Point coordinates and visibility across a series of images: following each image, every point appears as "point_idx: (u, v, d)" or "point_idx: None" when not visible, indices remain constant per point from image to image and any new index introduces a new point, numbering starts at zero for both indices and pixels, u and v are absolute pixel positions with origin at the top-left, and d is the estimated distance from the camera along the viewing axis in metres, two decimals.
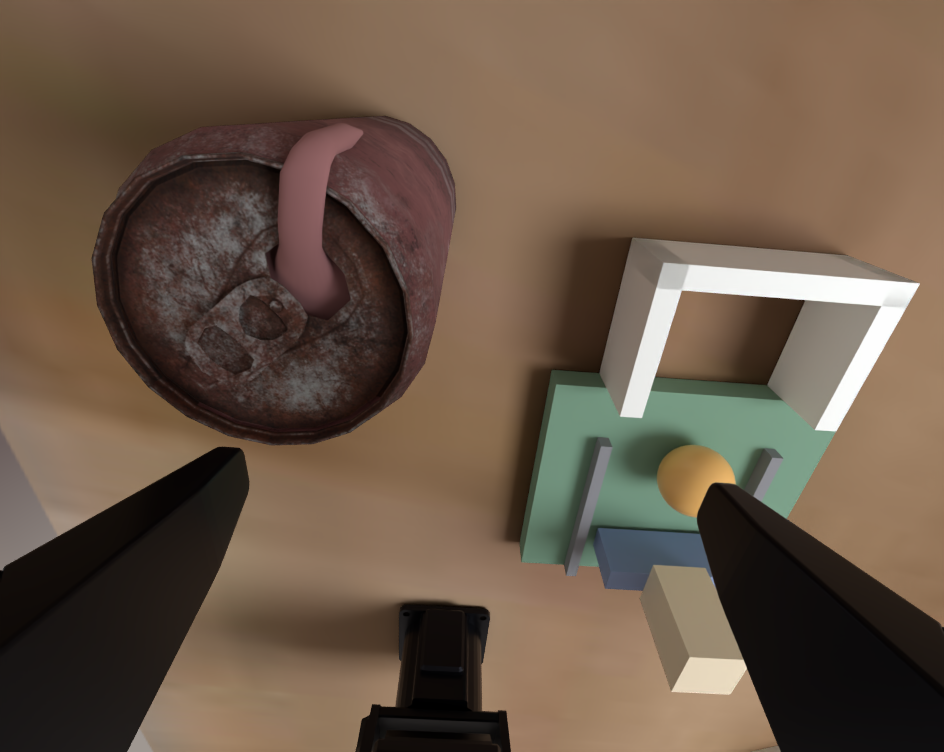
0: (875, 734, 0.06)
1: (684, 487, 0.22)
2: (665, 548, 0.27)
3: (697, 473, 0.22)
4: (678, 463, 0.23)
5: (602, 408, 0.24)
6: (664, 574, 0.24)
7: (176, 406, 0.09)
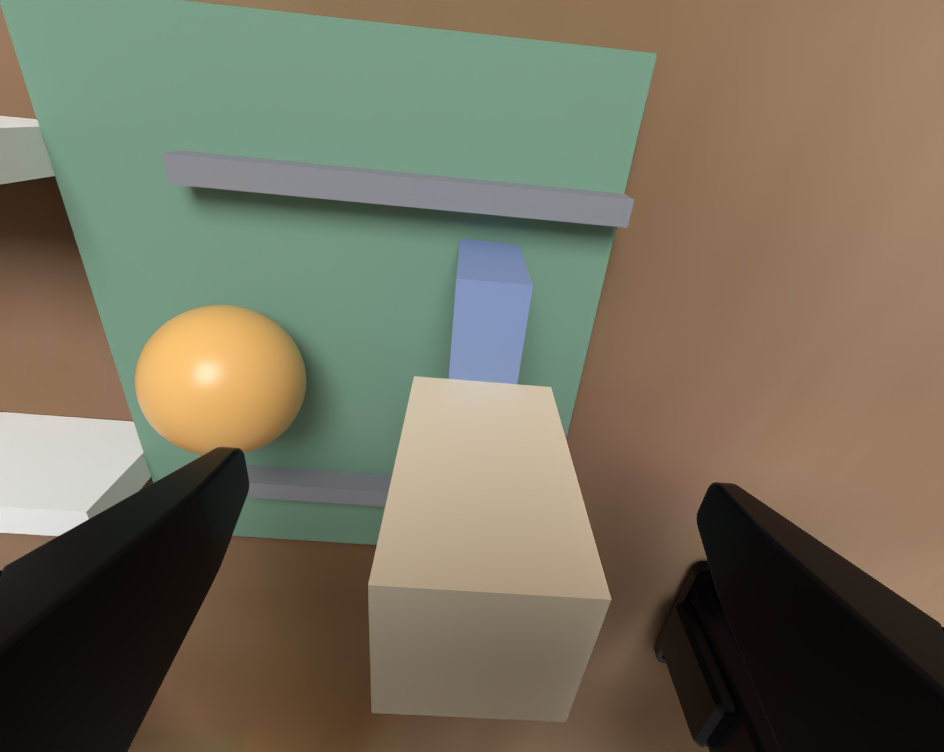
0: (874, 734, 0.06)
1: (186, 449, 0.11)
2: None
3: None
4: None
5: None
6: None
7: None
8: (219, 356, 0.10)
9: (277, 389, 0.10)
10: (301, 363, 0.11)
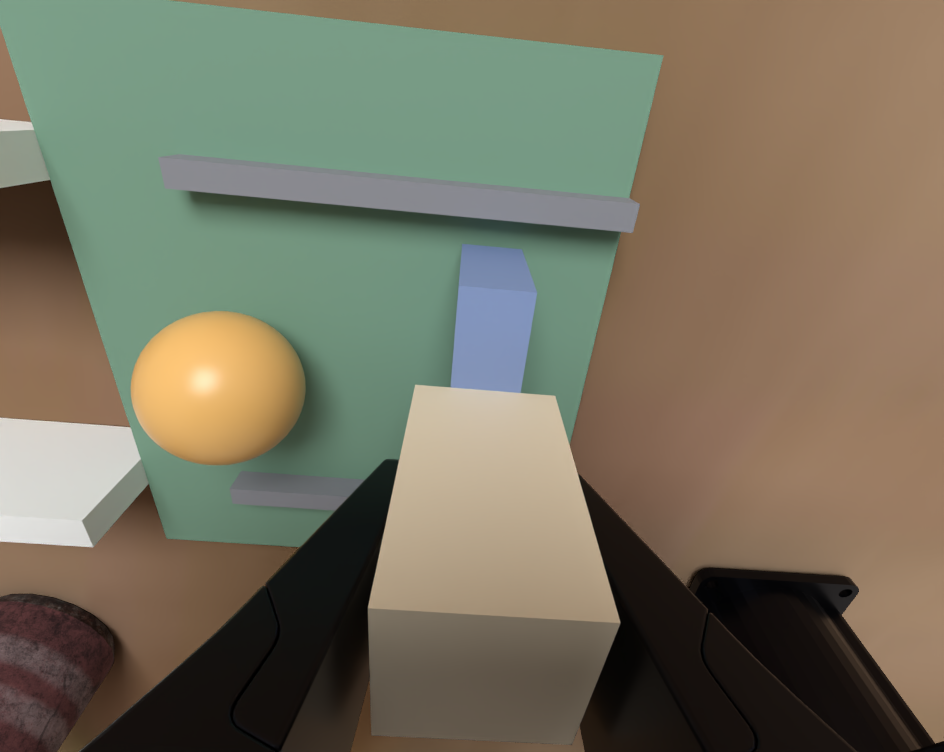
0: (630, 721, 0.06)
1: None
2: None
3: None
4: None
5: (187, 484, 0.15)
6: None
7: None
8: (216, 364, 0.10)
9: (275, 397, 0.10)
10: (300, 370, 0.11)
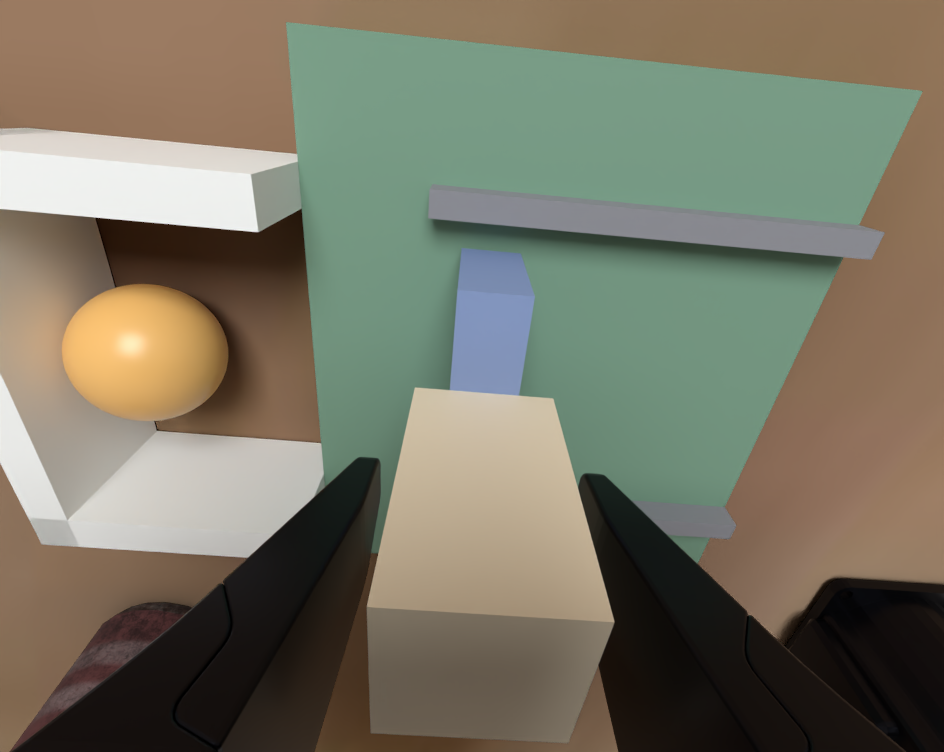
0: (672, 723, 0.06)
1: (203, 401, 0.13)
2: None
3: (184, 400, 0.12)
4: (155, 419, 0.12)
5: None
6: None
7: None
8: (195, 300, 0.13)
9: None
10: None
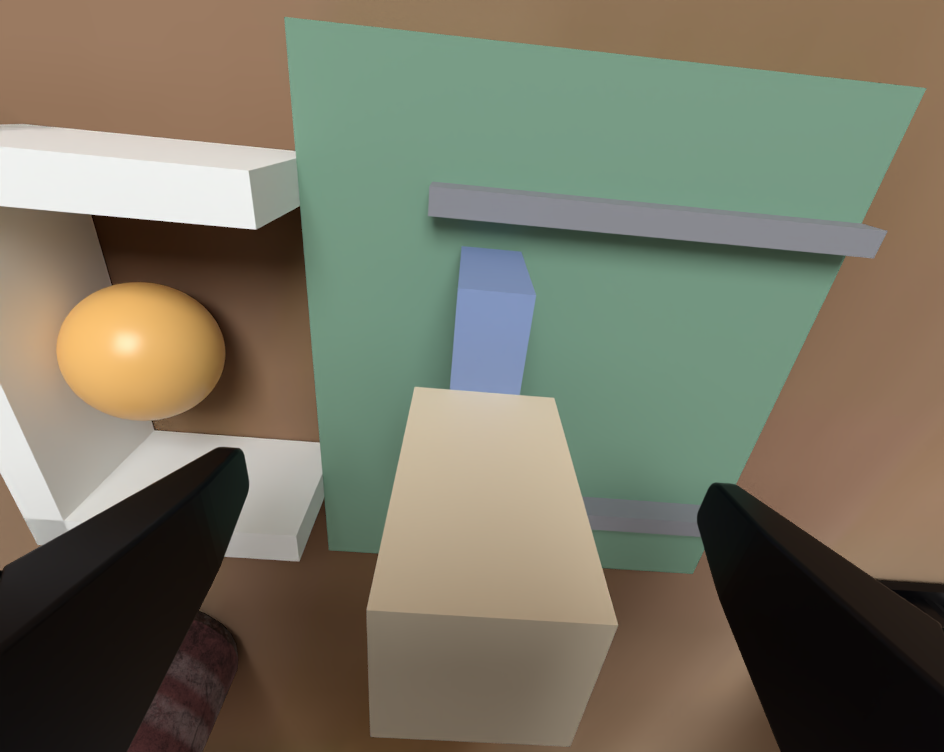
0: (875, 734, 0.06)
1: (200, 400, 0.13)
2: None
3: (179, 400, 0.12)
4: (151, 418, 0.12)
5: (362, 497, 0.15)
6: None
7: None
8: (192, 299, 0.12)
9: None
10: None
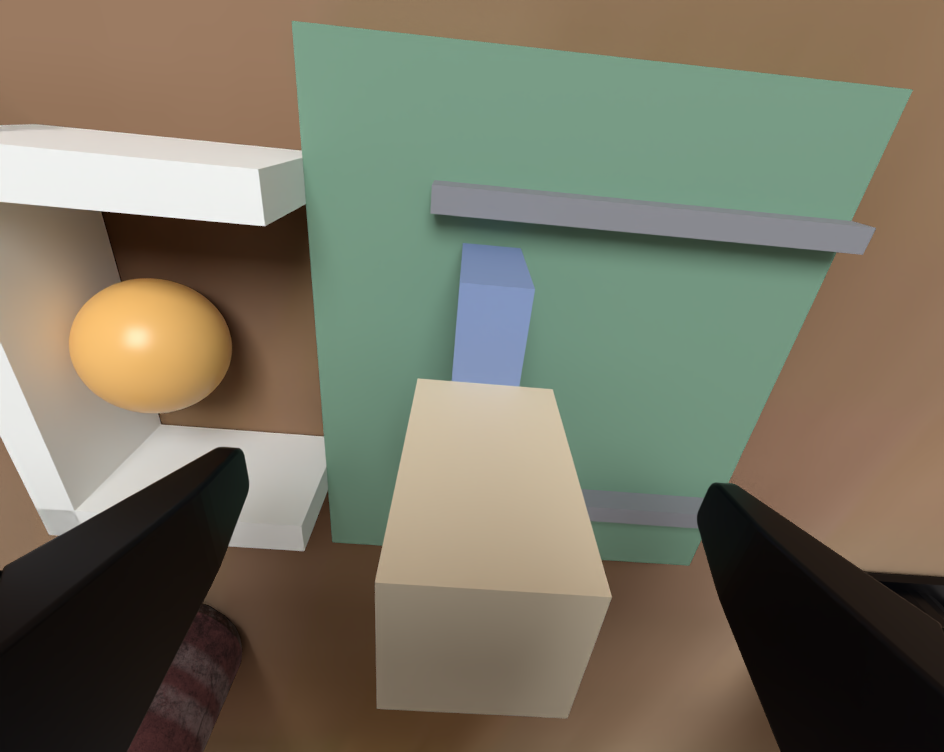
0: (874, 733, 0.06)
1: (207, 394, 0.13)
2: None
3: (188, 393, 0.12)
4: (160, 411, 0.12)
5: (365, 490, 0.16)
6: None
7: None
8: (200, 294, 0.13)
9: None
10: None
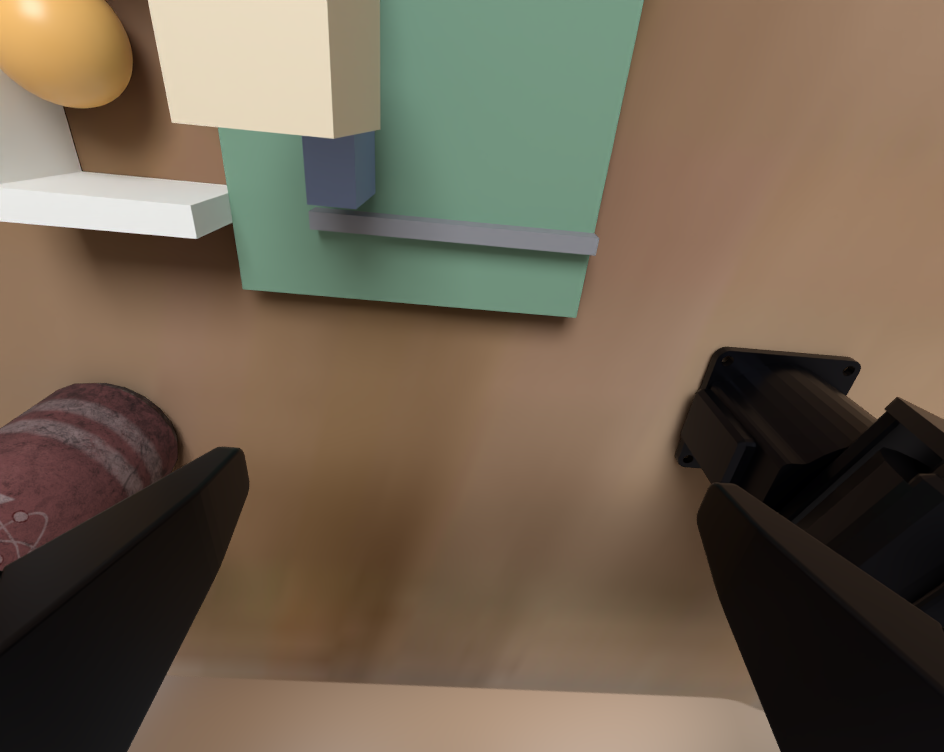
0: (875, 734, 0.06)
1: (106, 89, 0.14)
2: None
3: (82, 68, 0.13)
4: (59, 89, 0.14)
5: (267, 223, 0.17)
6: None
7: None
8: None
9: None
10: None
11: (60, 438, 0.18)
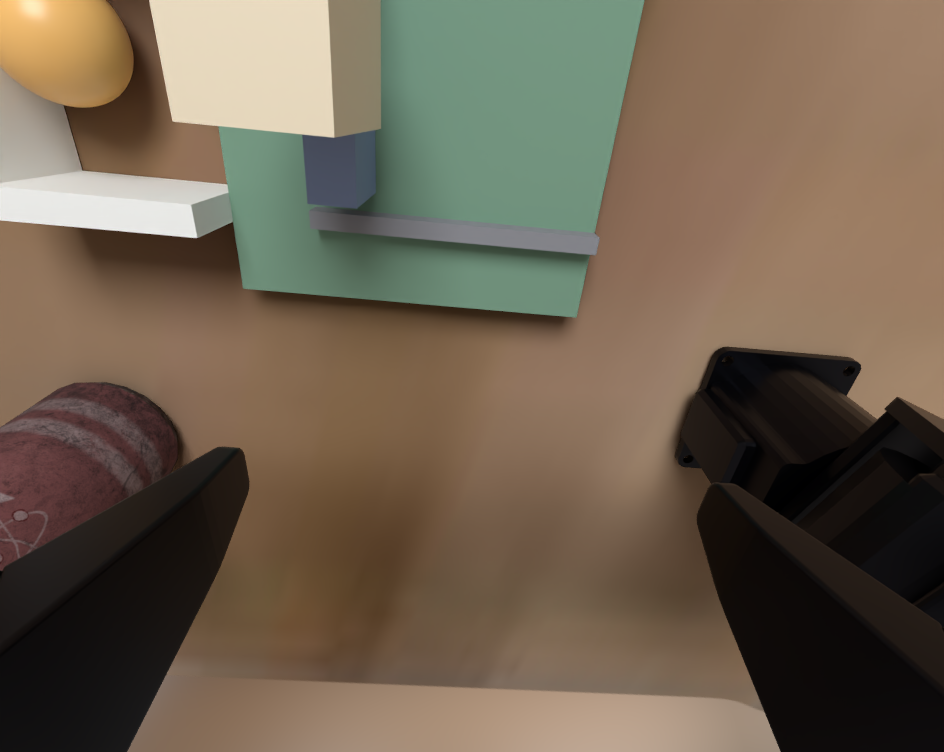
0: (874, 733, 0.06)
1: (107, 88, 0.14)
2: None
3: (83, 67, 0.13)
4: (60, 89, 0.14)
5: (267, 222, 0.17)
6: None
7: None
8: None
9: None
10: None
11: (60, 437, 0.18)
